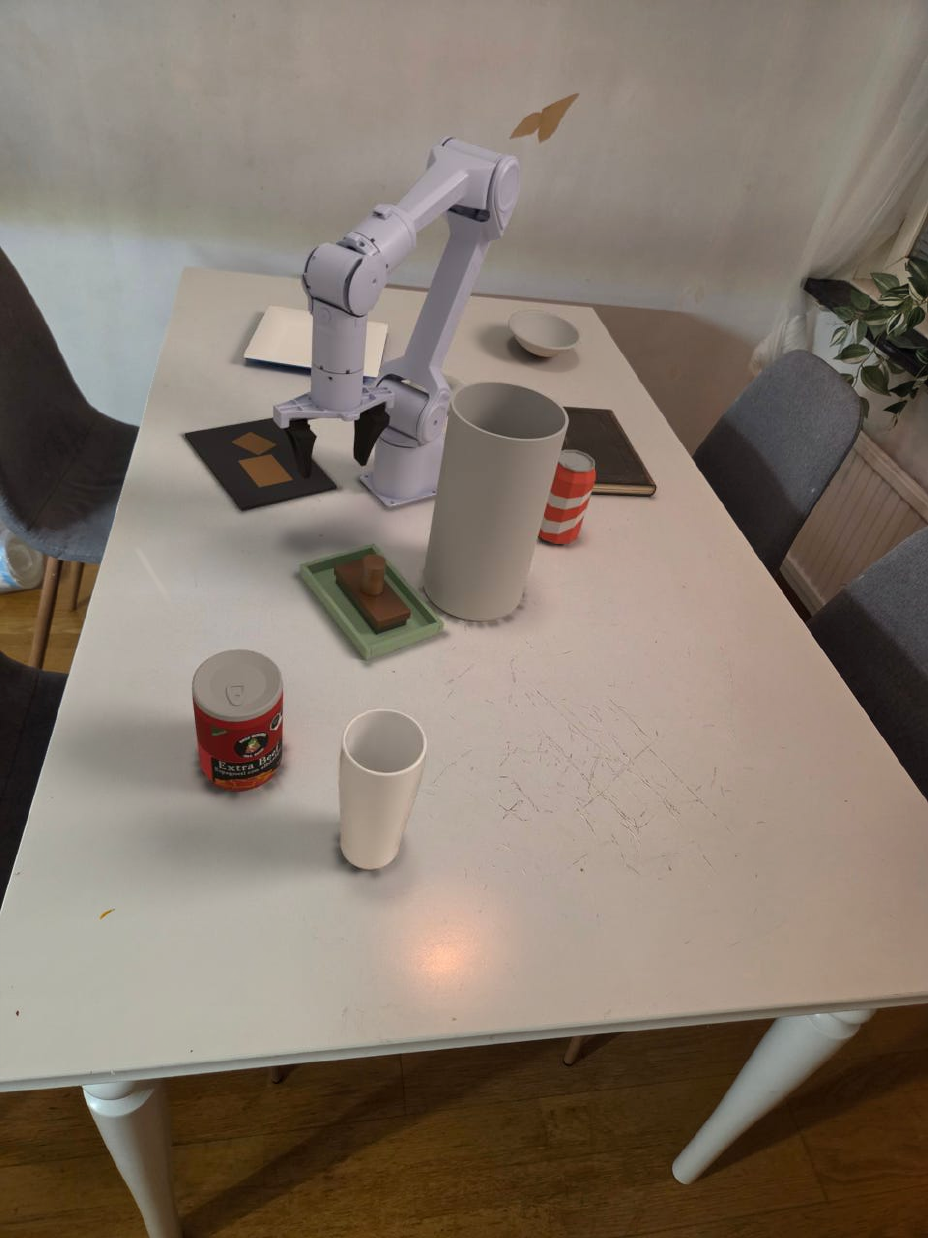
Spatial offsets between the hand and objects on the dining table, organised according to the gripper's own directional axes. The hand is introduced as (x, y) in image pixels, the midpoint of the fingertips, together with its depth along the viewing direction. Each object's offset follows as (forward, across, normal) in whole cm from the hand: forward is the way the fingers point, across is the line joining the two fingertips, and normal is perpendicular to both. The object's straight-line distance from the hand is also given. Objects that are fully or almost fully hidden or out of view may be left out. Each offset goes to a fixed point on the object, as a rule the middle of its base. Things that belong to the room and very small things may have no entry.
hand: (332, 467), depth 97 cm
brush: (+10, -2, -14) cm, 17 cm away
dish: (+10, +65, +36) cm, 75 cm away
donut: (+10, +34, +26) cm, 44 cm away
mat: (+10, -1, +19) cm, 22 cm away
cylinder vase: (+10, +11, -17) cm, 23 cm away
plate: (+10, +24, +49) cm, 56 cm away
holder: (+10, -2, -14) cm, 17 cm away
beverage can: (+10, +29, -12) cm, 33 cm away
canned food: (+10, -24, -28) cm, 38 cm away
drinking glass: (+10, -18, -42) cm, 47 cm away
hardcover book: (+10, +48, +3) cm, 49 cm away
